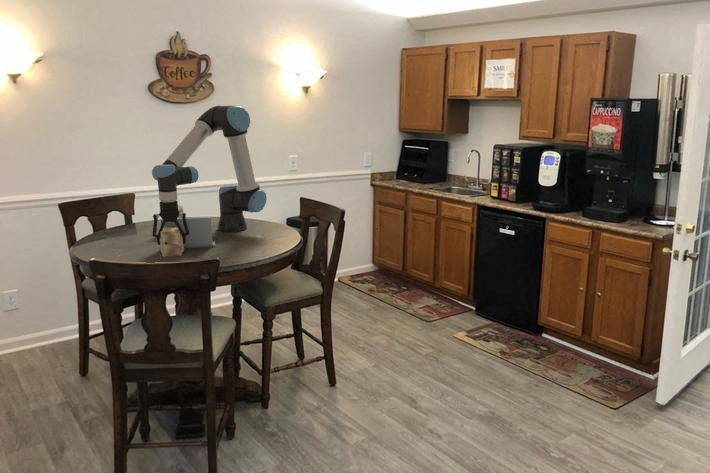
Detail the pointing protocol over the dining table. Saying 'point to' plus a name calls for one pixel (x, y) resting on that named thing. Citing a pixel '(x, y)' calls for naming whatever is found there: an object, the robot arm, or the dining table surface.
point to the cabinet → (171, 241)
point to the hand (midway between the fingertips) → (172, 251)
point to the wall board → (196, 232)
